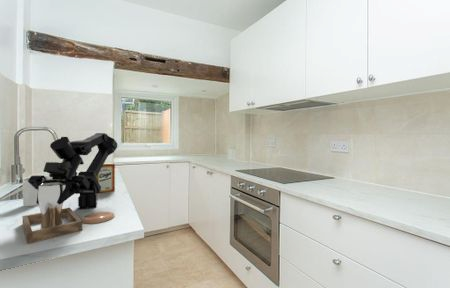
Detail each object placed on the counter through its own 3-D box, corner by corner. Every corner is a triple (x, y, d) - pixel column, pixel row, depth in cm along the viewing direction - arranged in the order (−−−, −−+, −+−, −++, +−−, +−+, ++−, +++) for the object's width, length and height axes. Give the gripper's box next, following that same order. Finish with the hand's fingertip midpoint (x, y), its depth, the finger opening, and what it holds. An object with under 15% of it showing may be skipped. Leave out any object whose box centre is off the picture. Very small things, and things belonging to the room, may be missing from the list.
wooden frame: (69, 214, 90) (69, 207, 90) (82, 229, 76) (82, 221, 76) (22, 224, 80) (22, 216, 80) (27, 243, 66) (27, 233, 66)
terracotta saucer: (114, 211, 94) (114, 210, 94) (114, 220, 84) (114, 219, 84) (83, 215, 89) (83, 214, 89) (79, 225, 79) (79, 223, 79)
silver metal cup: (68, 223, 81) (68, 182, 81) (54, 231, 74) (53, 186, 74) (49, 223, 81) (48, 182, 81) (33, 231, 74) (32, 186, 74)
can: (20, 205, 101) (19, 179, 100) (37, 201, 106) (37, 176, 106) (27, 207, 98) (26, 180, 97) (44, 204, 103) (44, 178, 103)
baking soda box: (96, 193, 122) (95, 164, 122) (93, 191, 127) (92, 163, 126) (114, 191, 129) (114, 163, 128) (111, 189, 134) (110, 162, 133)
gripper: (31, 153, 80) (3, 191, 70) (85, 153, 81) (65, 191, 71) (47, 171, 88) (25, 208, 78) (96, 171, 89) (80, 207, 79)
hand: (48, 203), depth 76 cm, fingers closed on silver metal cup, 7 cm apart
